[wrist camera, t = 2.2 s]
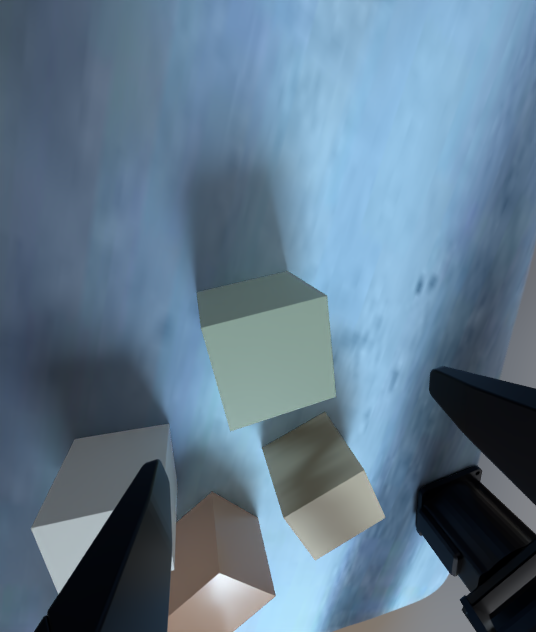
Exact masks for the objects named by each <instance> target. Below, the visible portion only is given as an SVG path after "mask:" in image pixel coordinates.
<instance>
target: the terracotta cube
mask: <svg viewBox="0 0 536 632" xmlns="http://www.w3.org/2000/svg"><path fill="white" fill-rule="evenodd" d="M274 597H275V591H274V587H273V582H272V578H271V574H270V569H269V565H268V560H267V556H266V552H265V547H264V543H263V538H262V534H261V530H260V525H259V521H258V518H257V517H256V516H254V515H252V514H251V513H249V512H247V511H245V510H244V509H242V508H240V507H238V506H237V505H235V504H233V503H231V502H230V501H228V500H226V499H224V498H223V497H221V496H219V495H218V494H216V493H214V492H211V493H210V494H209V495H207V496H206V497H205V498H204V499H203V500H202V501H201V502H199V503H198V504H197V505H196V506H195V507H194V508H193V509H191V510H190V511H189V512H188V513H187V514H186V515H184V516H183V517H182V518H181V519H180V520H179V521H178V522H176V542H175V568H174V570H173V571H171V580H170V596H169V613H168V629H167V632H233V631H235V630H236V629H237V628H238V627H239V626H241V625H242V624H243V623H244V622H245V621H247V620H248V619H249V618H250V617H251V616H253V615H254V614H255V613H256V612H257V611H258V610H260V609H261V608H262V607H263V606H264V605H266V604H267V603H268V602H269V601H270V600H272V599H273V598H274Z"/></svg>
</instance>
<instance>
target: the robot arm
mask: <svg viewBox="0 0 536 632" xmlns="http://www.w3.org/2000/svg"><path fill="white" fill-rule="evenodd" d="M429 391H430V394H431V396H432V397H433V398H434V399H435V401H436V402H437V403H438V404H439V405H440V407H441V408H442V409H443V410H444V411H445V412H446V414H447V415H448V416H449V417H450V418H451V420H452V421H453V422H454V423H455V424H456V425H457V427H458V428H459V429H460V430H461V431H462V432H463V433H464V434H465V436H466V437H467V438H468V439H469V440H470V441H471V442H472V443H473V444H474V445H475V446H476V447H477V448H478V449H479V450H480V451H481V452H482V453H483V454H484V455H485V456H486V457H487V458H488V459H489V460H491V462H493V464H495V466H497V467H498V468H499V470H500V471H502V472H503V473H504V474H505V475H506V476H507V477H508V478H509V479H510V480H511V481H512V482H513V483H514V484H515V485H516V486H517V487H518V488H519V489H520V490H521V491H522V492H523V493H524V494H525V495H526V496H527V497H528V498H529V499H530V500H531V501H532V502H533V503H534V504H535V505H536V389H535V388H531V387H526V386H522V385H518V384H514V383H510V382H506V381H502V380H498V379H494V378H490V377H486V376H482V375H478V374H473V373H469V372H465V371H461V370H457V369H453V368H449V367H445V366H441V367H438V368H435V369H432V370H431V372H430V381H429ZM481 474H482V470H481V469H480V468H479V467H478V466H473V467H471V468H468V469H466V470H463V471H461V472H458V473H456V474H453V475H451V476H449V477H446V478H444V479H441V480H439V481H436V482H434V483H431V484H429V485H426V486H424V487H422V488H421V489H420V490H419V497H418V513H417V529H416V530H417V532H418V533H419V535H420V536H422V535H423V536H424V538H425V539H426V541H427V542H428V543H429V545H430V546H431V548H432V549H433V550H434V552H435V553H436V555H437V556H438V557H439V559H440V560H441V562H442V563H443V564H444V566H445V567H446V569H447V570H448V571H449V573H450V574H451V575H453V576H457V575H458V576H459V577H460V578H461V580H462V581H463V583H464V584H465V585H466V587H467V588H468V589H469V591H470V592H471V593H470V594H468V595H467V596H463V597H462V598H461V599H460V601H461V603H462V605H463V608H462V611H463V613H464V614H465V616H466V617H467V618H468V620H469V621H470V623H471V624H472V626H473V627H474V629H475V630H476V632H536V534H535V533H534V532H533V531H532V530H531V529H530V528H529V527H527V526H526V525H525V524H524V523H523V522H522V521H521V520H520V519H519V518H518V517H517V516H516V515H514V513H512V512H511V511H510V510H509V509H508V508H507V507H506V506H505V505H504V504H503V503H502V502H501V501H500V500H499V499H498V498H496V496H495V495H493V494H492V493H491V492H490V491H489V490H488V489H487V488H486V487H485V486H484V485H483V484H482V483H481V482H480V480H481ZM171 563H172V521H171V499H170V483H169V479H168V476H167V474H166V471H165V469H164V467H163V465H162V462H161V461H160V460H159V459H155V460H152V461H149V462H146V463H145V464H144V465H143V466H142V467H141V469H140V470H139V472H138V473H137V475H136V476H135V478H134V479H133V481H132V482H131V484H130V486H129V487H128V489H127V490H126V492H125V493H124V495H123V496H122V498H121V499H120V501H119V502H118V504H117V505H116V507H115V509H114V510H113V512H112V513H111V515H110V516H109V518H108V519H107V521H106V522H105V524H104V525H103V527H102V529H101V530H100V532H99V533H98V535H97V536H96V538H95V539H94V541H93V542H92V544H91V545H90V547H89V548H88V550H87V552H86V553H85V555H84V556H83V558H82V559H81V561H80V562H79V564H78V565H77V567H76V568H75V570H74V571H73V573H72V575H71V576H70V578H69V579H68V581H67V582H66V584H65V585H64V587H63V588H62V590H61V591H60V593H59V594H58V596H57V598H56V599H55V601H54V602H53V604H52V605H51V607H50V608H49V610H48V612H47V615H48V616H44V617H43V619H42V620H41V622H40V623H39V625H38V626H37V628H36V630H35V631H34V632H167V629H168V613H169V596H170V580H171Z"/></svg>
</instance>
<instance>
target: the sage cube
mask: <svg viewBox="0 0 536 632" xmlns="http://www.w3.org/2000/svg"><path fill="white" fill-rule="evenodd" d="M197 299H198V308H199V316H200V324H201V330H202V333H203V337H204V340H205V344H206V347H207V351H208V354H209V358H210V361H211V365H212V368H213V372H214V375H215V379H216V382H217V386H218V390H219V393H220V397H221V400H222V404H223V407H224V411H225V414H226V418H227V421H228V425H229V428H230V431H233V430H236V429H239V428H242V427H245V426H249V425H252V424H255V423H258V422H261V421H264V420H267V419H270V418H273V417H276V416H279V415H282V414H285V413H288V412H291V411H294V410H298V409H301V408H304V407H307V406H310V405H313V404H316V403H319V402H322V401H325V400H328V399H331V398H334V397H336V391H335V379H334V368H333V357H332V346H331V334H330V323H329V312H328V301H327V295H325V294H323V293H322V292H320V291H319V290H317V289H315V288H314V287H312V286H311V285H309V284H307V283H306V282H304V281H303V280H301V279H300V278H298V277H296V276H295V275H293V274H292V273H290V272H288V271H285V272H281V273H276V274H272V275H268V276H263V277H259V278H255V279H251V280H246V281H242V282H238V283H233V284H229V285H225V286H220V287H216V288H212V289H208V290H203V291H199V292H197Z"/></svg>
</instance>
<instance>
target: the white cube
mask: <svg viewBox="0 0 536 632" xmlns="http://www.w3.org/2000/svg"><path fill="white" fill-rule="evenodd" d="M155 459H159V460H160V461H161V462H162V465H163V467H164V469H165V471H166V474H167V476H168V479H169V483H170V499H171V521H172V563H171V571H173V570H174V568H175V542H176V515H177V488H178V484H177V476H176V469H175V462H174V455H173V448H172V441H171V434H170V426H169V424H163V425H157V426H151V427H145V428H139V429H133V430H127V431H120V432H114V433H108V434H102V435H96V436H90V437H84V438H78V439H74V441H73V443H72V445H71V447H70V450H69V452H68V454H67V456H66V458H65V460H64V462H63V464H62V466H61V468H60V470H59V472H58V474H57V476H56V478H55V480H54V482H53V484H52V486H51V488H50V490H49V492H48V495H47V497H46V499H45V501H44V503H43V505H42V507H41V509H40V511H39V513H38V515H37V517H36V519H35V521H34V523H33V525H32V527H31V530H32V532H33V535H34V537H35V539H36V542H37V544H38V547H39V549H40V551H41V554H42V556H43V559H44V561H45V563H46V566H47V568H48V571H49V573H50V575H51V578H52V580H53V583H54V585H55V587H56V590H57V592H58V594H59V593H60V591H61V590H62V588H63V587H64V585H65V584H66V582H67V581H68V579H69V578H70V576H71V575H72V573H73V571H74V570H75V568H76V567H77V565H78V564H79V562H80V561H81V559H82V558H83V556H84V555H85V553H86V552H87V550H88V548H89V547H90V545H91V544H92V542H93V541H94V539H95V538H96V536H97V535H98V533H99V532H100V530H101V529H102V527H103V525H104V524H105V522H106V521H107V519H108V518H109V516H110V515H111V513H112V512H113V510H114V509H115V507H116V505H117V504H118V502H119V501H120V499H121V498H122V496H123V495H124V493H125V492H126V490H127V489H128V487H129V486H130V484H131V482H132V481H133V479H134V478H135V476H136V475H137V473H138V472H139V470H140V469H141V467H142V466H143V465H144V464H145V463H146V462H149V461H152V460H155Z"/></svg>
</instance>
